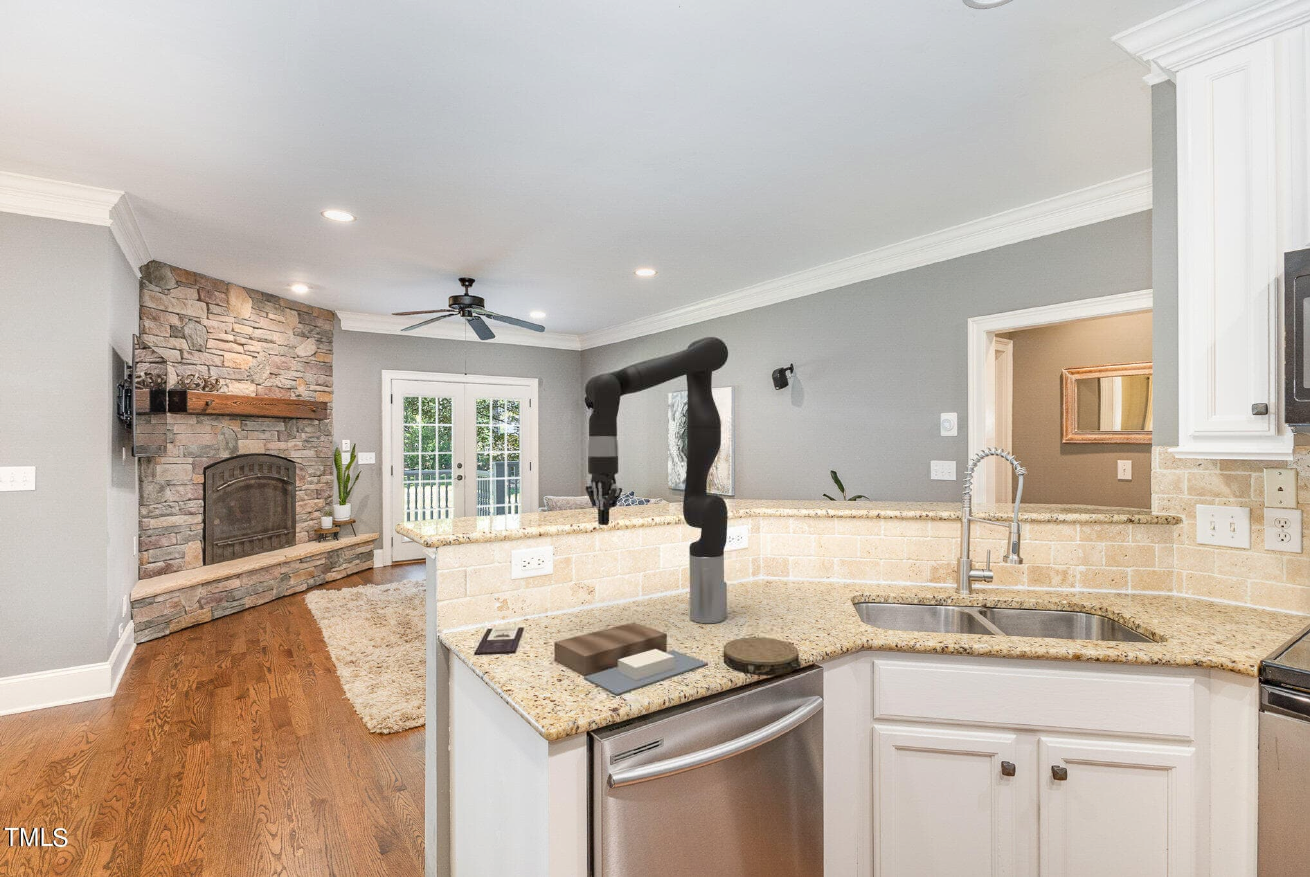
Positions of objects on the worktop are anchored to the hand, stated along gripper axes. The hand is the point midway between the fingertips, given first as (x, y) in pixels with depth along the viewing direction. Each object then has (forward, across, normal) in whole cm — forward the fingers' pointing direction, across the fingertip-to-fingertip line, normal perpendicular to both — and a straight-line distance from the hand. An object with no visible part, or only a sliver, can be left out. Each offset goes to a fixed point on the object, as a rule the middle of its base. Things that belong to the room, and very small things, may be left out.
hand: (603, 524), depth 151 cm
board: (+27, -14, +8) cm, 31 cm away
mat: (+27, -26, +8) cm, 39 cm away
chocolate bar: (+28, +12, +22) cm, 37 cm away
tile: (+25, -26, +8) cm, 38 cm away
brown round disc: (+28, -38, -14) cm, 49 cm away
